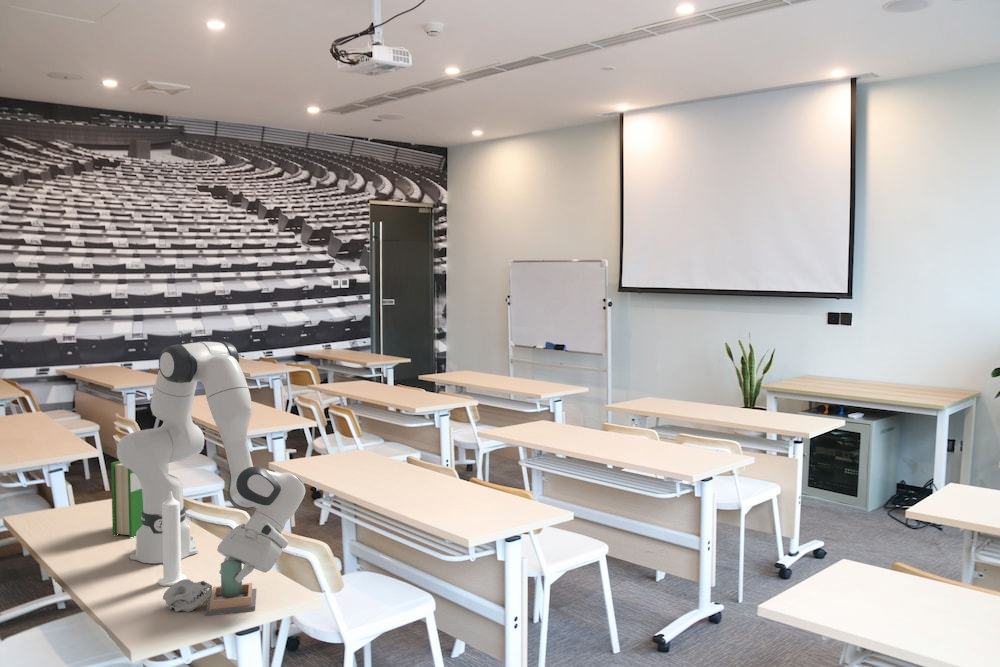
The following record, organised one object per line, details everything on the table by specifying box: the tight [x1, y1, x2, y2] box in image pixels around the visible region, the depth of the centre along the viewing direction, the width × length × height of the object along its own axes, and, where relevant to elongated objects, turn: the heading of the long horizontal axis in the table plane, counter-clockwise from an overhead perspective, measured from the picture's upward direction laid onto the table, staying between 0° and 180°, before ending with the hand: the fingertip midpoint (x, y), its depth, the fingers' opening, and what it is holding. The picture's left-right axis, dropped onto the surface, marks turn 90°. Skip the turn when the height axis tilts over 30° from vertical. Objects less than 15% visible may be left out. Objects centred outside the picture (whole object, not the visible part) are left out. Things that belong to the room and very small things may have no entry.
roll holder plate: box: [204, 582, 257, 616], centre depth 190 cm, size 12×12×3 cm
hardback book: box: [110, 460, 169, 538], centre depth 249 cm, size 18×7×24 cm, turn 165°
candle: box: [158, 491, 187, 587], centre depth 204 cm, size 7×7×25 cm
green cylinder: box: [220, 560, 243, 598], centre depth 190 cm, size 5×5×8 cm
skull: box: [162, 578, 213, 613], centre depth 187 cm, size 8×9×12 cm
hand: (229, 577), depth 189 cm, fingers closed on green cylinder, 5 cm apart
